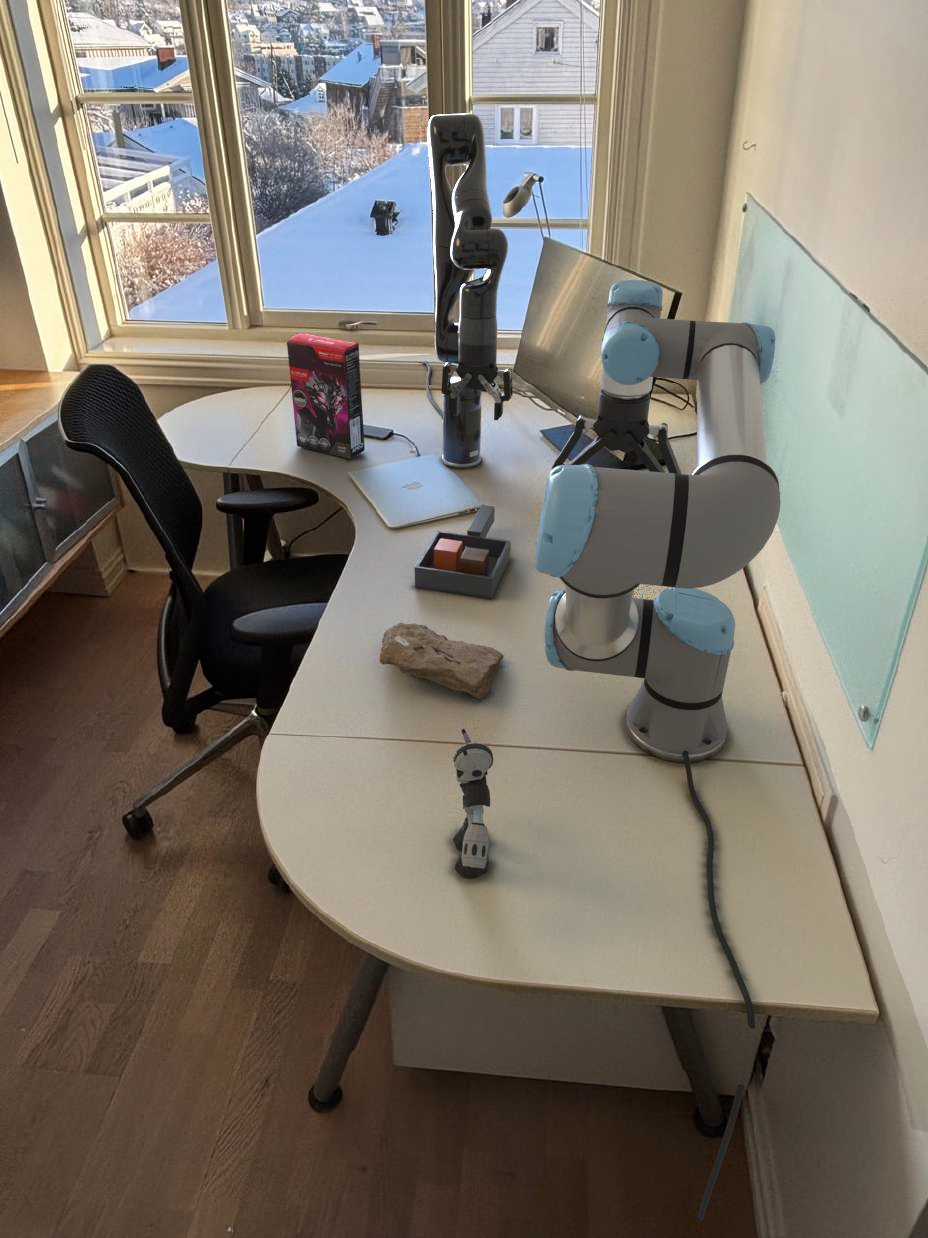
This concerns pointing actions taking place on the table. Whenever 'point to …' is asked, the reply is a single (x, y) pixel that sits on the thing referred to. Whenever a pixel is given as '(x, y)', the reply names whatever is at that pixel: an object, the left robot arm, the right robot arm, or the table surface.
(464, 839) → the robot
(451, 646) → the stone
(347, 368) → the graphics card box
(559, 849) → the table surface
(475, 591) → the tote
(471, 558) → the walnut block
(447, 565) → the terracotta block
